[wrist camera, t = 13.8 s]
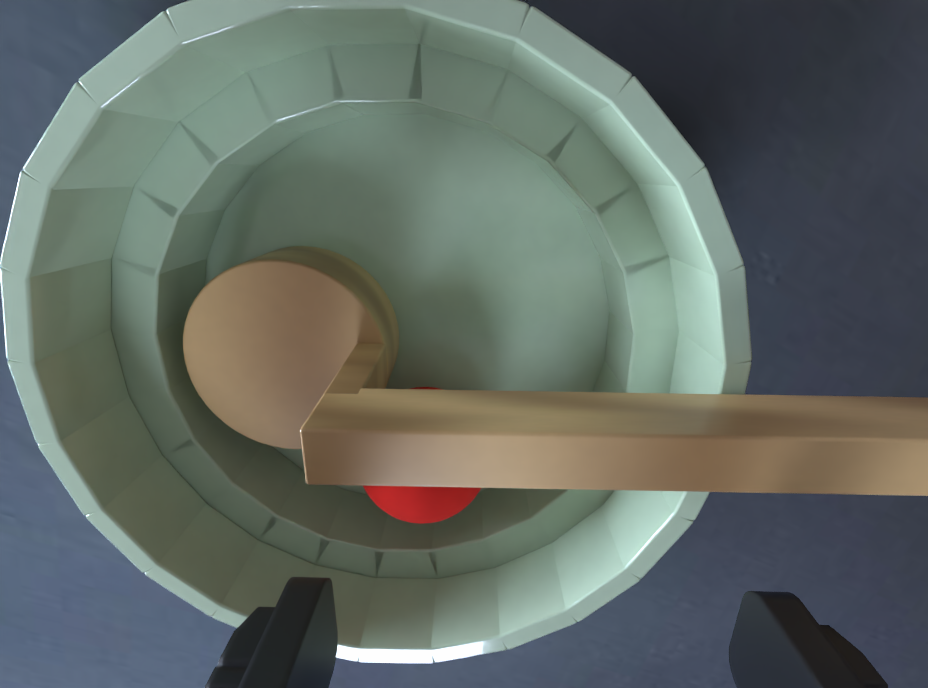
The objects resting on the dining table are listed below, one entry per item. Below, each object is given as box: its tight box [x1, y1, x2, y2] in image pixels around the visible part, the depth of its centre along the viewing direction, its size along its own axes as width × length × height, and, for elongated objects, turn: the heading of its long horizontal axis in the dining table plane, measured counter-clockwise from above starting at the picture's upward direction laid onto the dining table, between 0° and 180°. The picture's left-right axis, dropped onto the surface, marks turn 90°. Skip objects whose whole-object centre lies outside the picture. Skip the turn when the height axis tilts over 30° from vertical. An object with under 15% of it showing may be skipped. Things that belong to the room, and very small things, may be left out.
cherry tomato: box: [363, 387, 481, 524], centre depth 14 cm, size 4×4×4 cm
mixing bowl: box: [0, 0, 752, 664], centre depth 13 cm, size 16×16×6 cm
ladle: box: [183, 246, 928, 496], centre depth 12 cm, size 18×6×7 cm, turn 89°
